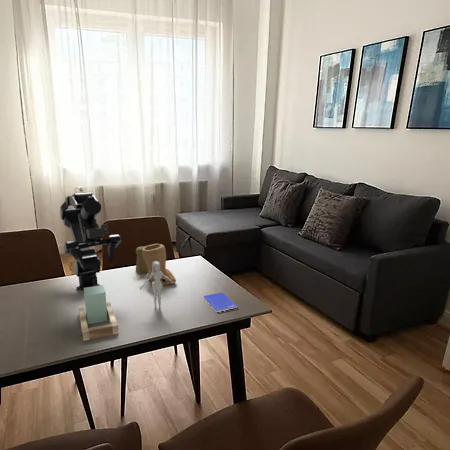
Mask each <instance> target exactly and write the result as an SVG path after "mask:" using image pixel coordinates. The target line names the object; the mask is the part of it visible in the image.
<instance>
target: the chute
mask: <svg viewBox="0 0 450 450" xmlns="http://www.w3.org/2000/svg"><path fill="white" fill-rule="evenodd" d="M84 306H85V305H79V306H78V315H79V323H80V328H81V333H82V340H83V341H85V342H86V341H89V340H93V339H98V338H104V337H109V336H113V335H117V334H120V333H119V324H118V321H117V318H116V315H115V312H114V310H113V307H112V304H111V301H110V300H109V301H106V306H107V321H108V324H103V325H98V326H93V327H89V325H88V323H87V318H86V309H85V307H84Z"/></svg>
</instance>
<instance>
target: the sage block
mask: <svg viewBox="0 0 450 450" xmlns="http://www.w3.org/2000/svg"><path fill="white" fill-rule="evenodd" d="M83 297H84V306H85V307H84V310H85V316H86V321H87V325H92V324H93V325H94V324H96V323H97V324H98V323H103V322H108V317H107V306H106V302H107V294H106V290H105V287H104V285H103V284H102V285H101V284H100V286H93V287H86V288H84V291H83Z"/></svg>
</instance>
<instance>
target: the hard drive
mask: <svg viewBox="0 0 450 450" xmlns="http://www.w3.org/2000/svg"><path fill="white" fill-rule="evenodd" d="M203 299H204V300H205V302H206V303H208V305H209V304H210V305H211V306H210V305H209V306H210V307H211V308H212V310H213V311H214V312H216V313H217V312H219V313H222V312H221V311H224V312H226V311H225V310H229V309H233V308H237V307H238V305H237V304H236V303H235V302H234V301H233V300H232V299H230V298H229V297H228V296H227V294H225V292H218V293H212V294H207V295H203ZM238 308H239V307H238ZM229 311H230V310H229Z"/></svg>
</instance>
